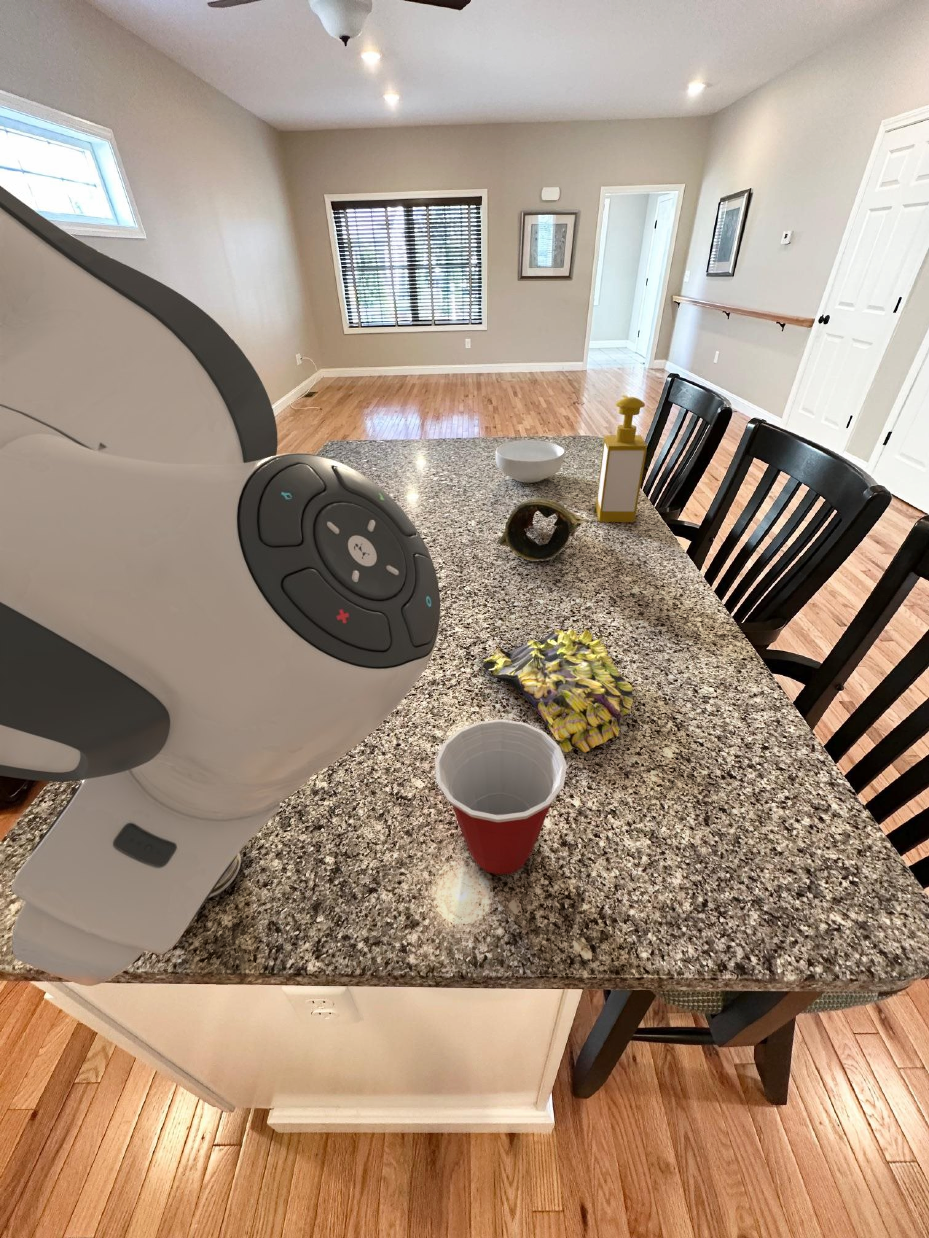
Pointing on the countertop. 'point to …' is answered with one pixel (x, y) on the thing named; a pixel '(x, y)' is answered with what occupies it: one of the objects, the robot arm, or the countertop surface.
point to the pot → (524, 519)
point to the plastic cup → (500, 788)
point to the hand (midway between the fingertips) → (170, 803)
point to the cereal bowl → (529, 460)
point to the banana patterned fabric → (568, 686)
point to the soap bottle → (621, 467)
